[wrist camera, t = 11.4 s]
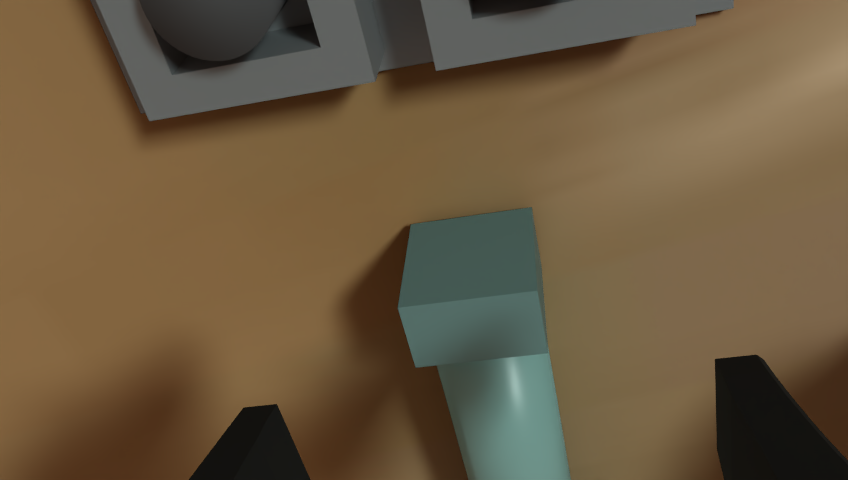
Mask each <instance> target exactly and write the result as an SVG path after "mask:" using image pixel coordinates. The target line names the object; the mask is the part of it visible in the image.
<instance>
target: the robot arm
mask: <svg viewBox="0 0 848 480" xmlns="http://www.w3.org/2000/svg"><path fill="white" fill-rule="evenodd" d="M715 379H716V424H717V451H718V455H719V459H720V463H721V468H722V472H723V476H724V480H848V460H847V459H846V458H845V457H844V456H843V455H842V454H841V453H840V452H839V451H838V450H837V449H836V447H835V446H834V445H833V444H832V443H831V442H830V441H829V440H828V439H827V438H826V437H825V435H824V434H823V433H822V432H821V431H820V430H819V429H818V428H817V426H816V425H815V424H814V423H813V422H812V421H811V419H810V418H809V417H808V416H807V415H806V413H805V412H804V411H803V410H802V409H801V407H800V406H799V405H798V404H797V403H796V402H795V400H794V399H793V398H792V397H791V395H790V394H789V393H788V392H787V390H786V389H785V388H784V386H783V385H782V384H781V383H780V381H779V380H778V379H777V377H776V376H775V375H774V373H773V372H772V371H771V369H770V368H769V366H768V365H767V364H766V362H765V361H764V360H763V359H762V358H760V357H759V356H758V355H750V356H740V357H730V358H721V359H715ZM189 480H310V478H309V476H308V473H307V471H306V469H305V467H304V464H303V462H302V460H301V458H300V455H299V453H298V451H297V449H296V446H295V444H294V442H293V440H292V437H291V435H290V433H289V431H288V428H287V426H286V424H285V422H284V419H283V417H282V415H281V413H280V410H279V408H278V406H277V404H274V405H265V406H255V407H245V408H243V409H242V411H241V412H240V413H239V414H238V416H237V417H236V418H235V420H234V421H233V422H232V423H231V425H230V426H229V427H228V429H227V430H226V431H225V433H224V434H223V435H222V437H221V438H220V439H219V441H218V442H217V443H216V445H215V446H214V447H213V449H212V450H211V451H210V452H209V454H208V455H207V456H206V458H205V459H204V460H203V462H202V463H201V464H200V466H199V467H198V468H197V470H196V471H195V472H194V474H193V475H192V476H191V478H190V479H189Z"/></svg>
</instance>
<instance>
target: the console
mask: <svg viewBox="0 0 848 480" xmlns="http://www.w3.org/2000/svg"><path fill="white" fill-rule="evenodd" d="M90 1H91V3H92V5H93V7H94V10H95V12H96V14H97V16H98V19H99V21H100V23H101V25H102V27H103V30H104V32H105V34H106V36H107V39H108V41H109V43H110V45H111V48H112V50H113V52H114V54H115V57H116V59H117V61H118V63H119V65H120V68H121V70H122V72H123V74H124V77H125V79H126V81H127V83H128V86H129V88H130V90H131V92H132V94H133V97H134V99H135V101H136V103H137V106H138V108H139V110H140V112H141V114H142V113H146V115H147V117H148V119H149V121H154V120H160V119H165V118H171V117H177V116H182V115H188V114H194V113H200V112H205V111H211V110H217V109H222V108H228V107H234V106H239V105H245V104H251V103H256V102H262V101H268V100H273V99H279V98H285V97H291V96H296V95H302V94H308V93H313V92H319V91H325V90H330V89H336V88H342V87H347V86H353V85H359V84H364V83H370V82H376V78H377V75H378V72H379V71H384V70H389V69H395V68H400V67H406V66H412V65H417V64H423V63H429V62H434V64H435V69H436V71H438V70H444V69H450V68H455V67H461V66H467V65H472V64H478V63H484V62H490V61H495V60H501V59H507V58H512V57H518V56H524V55H529V54H535V53H541V52H546V51H552V50H558V49H563V48H569V47H575V46H581V45H586V44H592V43H598V42H603V41H609V40H615V39H620V38H626V37H632V36H637V35H643V34H649V33H654V32H660V31H666V30H671V29H677V28H683V27H689V26H694V25H696V15H698V14H704V13H709V12H715V11H721V10H726V9H732V8H733V0H288V1H287V2H286V4H285V5H284V7H283V8H282V10H281V11H280V13H279V14H278V16H277V17H276V19H275V20H274V22H273V23H272V25H271V26H270V28H269V29H268V31H267V32H266V34H265V35H264V37H263V38H262V40H261V41H260V42H259V43H258V44H257V45H256V46H255V47H254V48H253V49H252V50H251V51H249V52H247V53H246V54H244V55H242V56H240V57H237V58H234V59H230V60H225V61H209V60H202V59H198V58H195V57H192V56H189V55H187V54H185V53H183V52H181V51H179V50H177V49H176V48H174V47H173V46H171V45H170V44H169V43H168V42H166V41H165V40H164V39H163V38H162V37H161V36H160V35H159V34H158V33H157V32H156V30H155V29H154V28H153V27H152V25H151V24H150V22H149V21H148V19H147V17H146V15H145V13H144V11H143V9H142V7H141V4H140V1H139V0H90Z"/></svg>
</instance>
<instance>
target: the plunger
mask: <svg viewBox="0 0 848 480" xmlns="http://www.w3.org/2000/svg"><path fill="white" fill-rule="evenodd" d="M139 1H140V4H141V7H142V9H143V11H144V13H145V15H146V17H147V19H148V21H149V22H150V24H151V25H152V27H153V28H154V29H155V30H156V32H157V33H158V34H159V35H160V36H161V37H162V38H163V39H164V40H165V41H166V42H168V43H169V44H170V45H171V46H173V47H174V48H176V49H177V50H179V51H181V52H183V53H185V54H187V55H189V56H192V57H195V58H198V59H202V60H209V61H225V60H230V59H234V58H237V57H240V56H242V55H244V54H246V53H247V52H249V51H251V50H252V49H253V48H254V47H255V46H256V45H257V44H258V43H259V42H260V41H261V40H262V38H263V37H264V35H265V34H266V32H267V31H268V29H269V28H270V26H271V25H272V23H273V22H274V20H275V19H276V17H277V16H278V14H279V13H280V11H281V10H282V8H283V7H284V5H285V4H286V2H287V1H288V0H139Z"/></svg>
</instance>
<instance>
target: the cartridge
mask: <svg viewBox="0 0 848 480" xmlns="http://www.w3.org/2000/svg"><path fill="white" fill-rule="evenodd" d="M398 310H399V314H400V317H401V321H402V324H403V327H404V331H405V334H406V337H407V341H408V344H409V347H410V351H411V354H412V357H413V361H414V364H415V367H416V368H417V367H426V366H436V365H437V369H438V372H439V376H440V379H441V383H442V386H443V390H444V394H445V397H446V401H447V404H448V408H449V412H450V415H451V419H452V422H453V426H454V430H455V433H456V437H457V440H458V444H459V448H460V451H461V455H462V458H463V462H464V466H465V469H466V473H467V476H468V480H571V478H570V472H569V466H568V460H567V454H566V449H565V443H564V437H563V431H562V425H561V419H560V414H559V408H558V402H557V396H556V390H555V384H554V379H553V373H552V367H551V361H550V355H549V350H548V343H547V331H546V318H545V306H544V293H543V281H542V268H541V261H540V255H539V249H538V243H537V237H536V231H535V225H534V218H533V212H532V207H530V208H523V209H516V210H509V211H502V212H495V213H488V214H481V215H474V216H467V217H460V218H452V219H445V220H438V221H431V222H424V223H417V224H411V227H410V233H409V240H408V246H407V252H406V259H405V265H404V271H403V278H402V284H401V290H400V297H399V303H398Z"/></svg>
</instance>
